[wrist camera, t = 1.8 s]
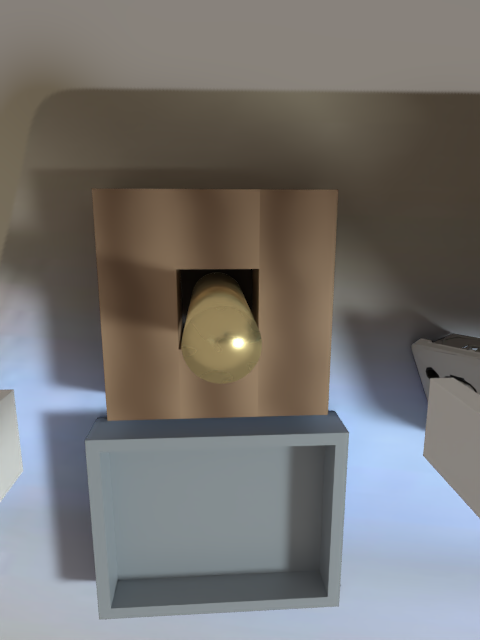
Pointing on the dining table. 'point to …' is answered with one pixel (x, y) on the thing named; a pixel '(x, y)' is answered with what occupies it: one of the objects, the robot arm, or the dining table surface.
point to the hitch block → (215, 253)
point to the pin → (220, 331)
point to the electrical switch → (449, 360)
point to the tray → (217, 513)
